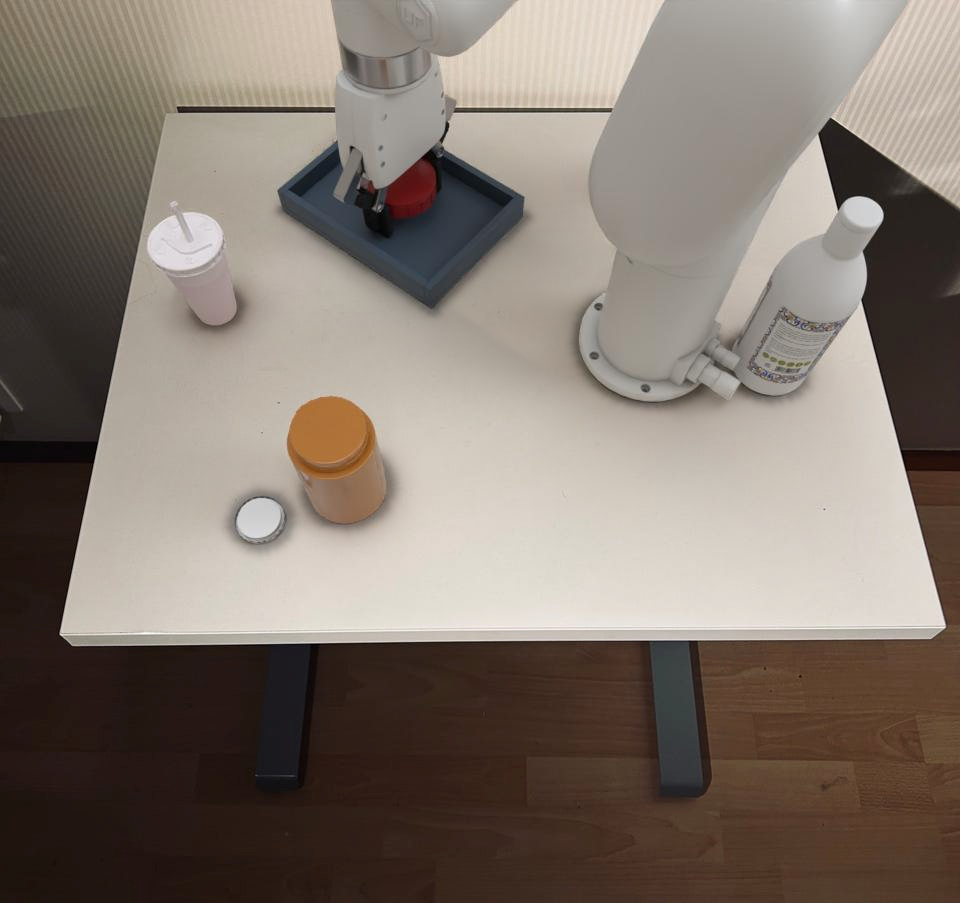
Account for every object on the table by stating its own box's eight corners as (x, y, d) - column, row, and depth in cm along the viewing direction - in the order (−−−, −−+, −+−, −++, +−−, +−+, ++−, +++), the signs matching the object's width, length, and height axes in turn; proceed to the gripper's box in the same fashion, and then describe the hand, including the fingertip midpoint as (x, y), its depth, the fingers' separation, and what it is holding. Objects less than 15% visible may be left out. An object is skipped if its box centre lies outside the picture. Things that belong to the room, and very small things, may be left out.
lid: (351, 195, 78) (348, 181, 76) (398, 155, 80) (397, 141, 79) (404, 230, 76) (402, 216, 74) (451, 188, 78) (450, 174, 77)
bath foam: (817, 390, 72) (932, 240, 54) (745, 404, 72) (837, 258, 54) (787, 328, 75) (887, 167, 57) (718, 341, 75) (797, 182, 57)
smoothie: (238, 343, 74) (191, 240, 61) (172, 331, 74) (112, 226, 62) (260, 288, 77) (219, 179, 64) (197, 277, 77) (144, 166, 65)
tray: (523, 216, 81) (524, 196, 78) (431, 308, 76) (430, 290, 73) (377, 129, 86) (375, 108, 84) (282, 210, 81) (276, 190, 78)
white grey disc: (261, 552, 65) (259, 550, 64) (226, 525, 66) (224, 522, 65) (295, 516, 66) (293, 513, 66) (260, 489, 67) (258, 486, 67)
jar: (402, 481, 68) (391, 422, 58) (350, 539, 66) (330, 487, 56) (345, 438, 70) (325, 374, 60) (292, 493, 67) (263, 435, 58)
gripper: (419, -25, 68) (430, 141, 84) (276, 86, 62) (317, 242, 78) (489, 11, 66) (486, 174, 82) (348, 128, 60) (374, 280, 76)
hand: (403, 206), depth 80 cm, fingers closed on lid, 6 cm apart
